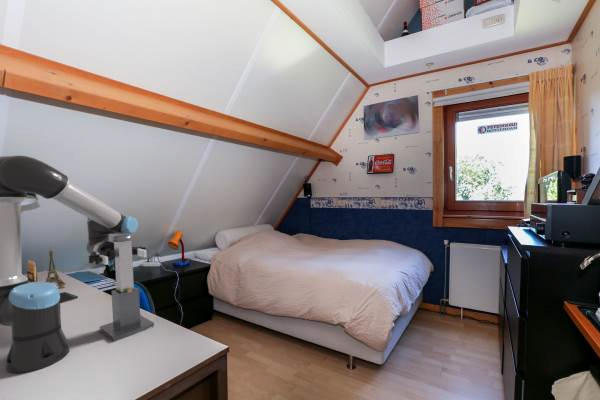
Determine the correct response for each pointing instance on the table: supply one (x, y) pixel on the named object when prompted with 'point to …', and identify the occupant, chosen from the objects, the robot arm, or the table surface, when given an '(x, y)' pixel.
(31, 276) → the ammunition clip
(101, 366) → the table surface
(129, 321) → the jack stand base
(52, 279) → the eiffel tower
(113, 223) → the robot arm
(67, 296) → the phone
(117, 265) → the column
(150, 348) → the table surface
